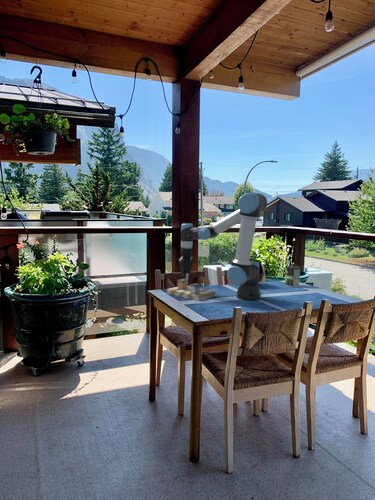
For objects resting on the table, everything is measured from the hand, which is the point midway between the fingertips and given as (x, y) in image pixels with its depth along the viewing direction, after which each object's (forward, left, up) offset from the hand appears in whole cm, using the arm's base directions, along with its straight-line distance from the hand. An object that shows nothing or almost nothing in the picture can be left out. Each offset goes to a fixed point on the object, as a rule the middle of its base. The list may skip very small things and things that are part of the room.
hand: (185, 283), depth 239 cm
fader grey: (-14, +8, -3) cm, 16 cm away
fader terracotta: (0, +3, -3) cm, 4 cm away
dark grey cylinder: (-19, -49, -6) cm, 53 cm away
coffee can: (-42, -71, -6) cm, 83 cm away
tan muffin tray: (-7, +3, -6) cm, 10 cm away
